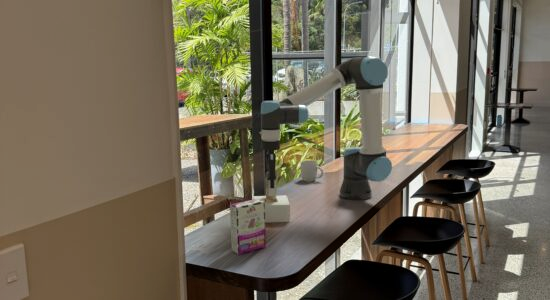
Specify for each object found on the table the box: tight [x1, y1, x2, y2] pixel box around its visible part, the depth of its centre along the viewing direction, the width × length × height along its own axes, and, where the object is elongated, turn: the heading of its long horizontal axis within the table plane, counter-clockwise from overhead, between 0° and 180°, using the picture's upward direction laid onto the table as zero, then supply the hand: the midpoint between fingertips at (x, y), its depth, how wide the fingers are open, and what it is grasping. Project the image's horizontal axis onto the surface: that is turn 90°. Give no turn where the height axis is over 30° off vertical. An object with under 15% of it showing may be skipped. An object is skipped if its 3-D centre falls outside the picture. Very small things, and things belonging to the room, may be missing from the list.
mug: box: [300, 160, 324, 183], centre depth 262 cm, size 13×9×10 cm
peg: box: [265, 172, 277, 202], centre depth 199 cm, size 4×4×18 cm
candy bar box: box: [229, 199, 267, 255], centre depth 164 cm, size 11×5×16 cm, turn 126°
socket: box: [252, 194, 291, 223], centre depth 200 cm, size 14×14×7 cm
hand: (270, 191), depth 199 cm, fingers open, 13 cm apart
